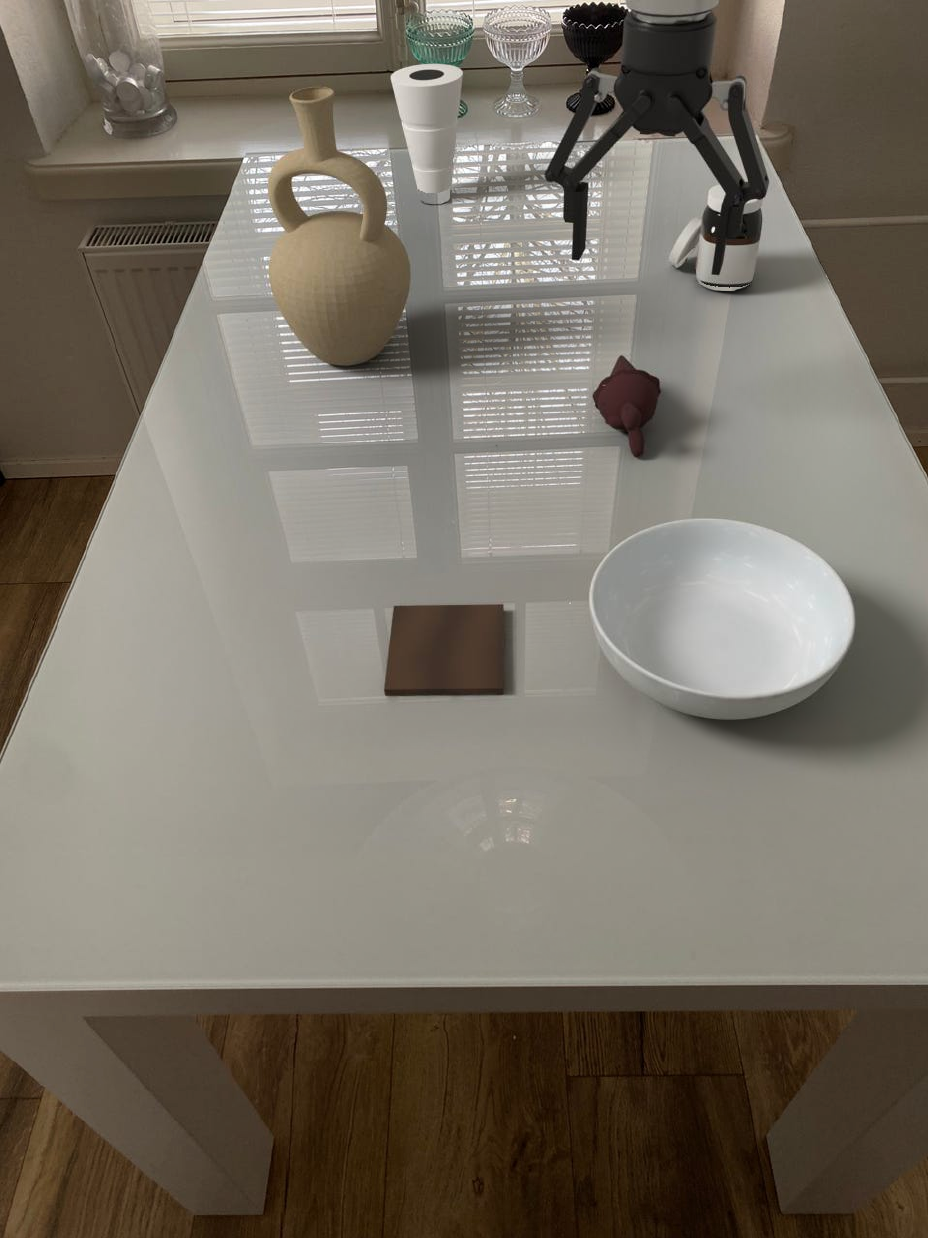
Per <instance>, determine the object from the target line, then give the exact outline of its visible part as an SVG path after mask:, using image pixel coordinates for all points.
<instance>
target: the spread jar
mask: <svg viewBox="0 0 928 1238" xmlns="http://www.w3.org/2000/svg"><path fill="white" fill-rule="evenodd" d="M725 194H726V193H725V192H724V190H723V188H722V187H721V185H720V184H719V183H718V184H716V185H714V186H712V187H711V188H709V190H708V195H707V202H706V203H707V205H706V206H705V208H704V209H703V213H702V217H701V218H700V217H698V216H695V217H693V218H692V219H691V220H690V221H689V222H688V224H686V226H685V228H683V230H682V232H681V233H680V235H679V236H678V238H677V240H676V241H675V244H674V246H673V247H672V249H671V251H670V254H669V257H668V261H670V262H672V263H675V264H678V263H679V262H680V261H681V260H682V259H683V258H684V257H685V256H686V255H687V254H688V253H689V252H690V251H691V250H692V249H693V248H694V247H695V246H696V247H697V252H696V259H695V269H696V273H697V277H698V279H699V280H700V281H701V282H702V283H704V284H706V285H710V286H715V287H716V286H718V287H729V288H730V287H743V286H746V285H748V284H750V283H751V284H752V282H753V279H754V276H755V275H754V274H755V270H756V266H757V259H758V253H759V248H760V241H761V236H762V228H763V212H762V208H761V207H762V206H763V202H764V198H763V199H761V200H757V199H753V200H750V201H748V202H746V204H745V206H744V212H743V218H742V224H741V229H740V232H739V234H738V236H737V238H727V241H726V248H725V254H724V260H723V265H722V268H721V271H720V275H711V273H712V266H713V259H714V253H715V246H716V239H717V232H718V226H719V219H720V212H721V206H722V203H723V200H724V197H725ZM696 247H695V248H696ZM668 261H667V262H668ZM751 281H752V282H751ZM751 284H750V285H751Z"/></svg>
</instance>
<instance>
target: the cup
mask: <svg viewBox="0 0 928 1238" xmlns="http://www.w3.org/2000/svg"><path fill="white" fill-rule="evenodd" d="M463 76H464V72H463V70H462V69H461V68H460V67H458V66H454V65H450V64H445V63H422V64H415V65H410V66H405V67H402V68H400V69H398V70H396V71H394V72H393V73H391V75H390V82H391V85H392V90H393V94H394V98H395V101H396V106H397V111H398V114H399V118H400V120H401V127H402V130H403V134H404V138H405V142H406V146H407V150H408V154H409V158H410V161H411V166H412V171H413V175H414V180H415V183H416V187H417V190H418V189H419V190H420V191H423V192H425V193H440V192H443V191H445V190H448V189H449V188H450V187H451V188H452V186H451V185H452V184H453V173H454V164H455V163H454V159H455V153H456V143H457V136H458V135H457V134H458V133H457V132H458V125H459V114H460V105H461V96H462V86H463Z"/></svg>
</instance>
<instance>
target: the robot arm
mask: <svg viewBox="0 0 928 1238" xmlns="http://www.w3.org/2000/svg"><path fill="white" fill-rule="evenodd" d="M624 3H625V6H626V7H627V8H628V9H629V10H630V11H629V12H628V13H627V14H626V16H625V17H624V19H623V31H622V43H621V44H622V46H621V47H622V48H621V61H620V70H619V73H618V76H616V75H613V74H612V75H611V74H606V73H603V72H602V70H601V69H600V68H598V67H594V68H592V69H591V70H590V71H589V72H588V73H587V75H586V77H585V78H584V79H583V82H582V88H581V95H580V102H579V103H578V107H577V108H576V110H575V112H574V114H573V116H572V118H571V120H570V122H569V125H568V126H567V129H566V130H565V133H564V134H563V136H562V138H561V140H560V142H559V144H558V146H557V147H556V149H555V152H554V154H553V156H552V158H551V160H550V162H549V164H548V166H547V168H546V170H545V171H544V179H545V181H546V182H548V183H555V184H558V185H559V186H560V187H561V188H562V190H563V203H562V205H563V208H562V210H563V211H562V218H563V221H564V223H568V224H572V238H571V239H572V241H571V242H572V243H571V260H572V261H579V262H580V260H581V258H582V256H583V254H584V252H585V250H586V245H587V244H586V242H587V223H588V205H589V203H588V202H589V186H590V185H589V183H590V182H589V181H583V180H584V178H585V177H587V175H588V174H589V173H590V172H591V171H592V170H593V169H594V167H595V166H597V165H598V163H599V162H600V161H601V160H602V159H603V158H604V157H605V156H606V154H607V153H608V152H609V151H610V150H611V149H612V148H613V147H614V146H615V145H616V144H617V143H618V142H619V140H621V139H622V138H623V137H624V136H625V135H626V133H628V131H629V130H630V129H631V128H633V129H634V130H635V131H637V132H639V135H646V136H650V135H654V134H659V135H662V136H665V137H673V138H675V137H676V135H679V134H682V133H683V134H684V135H685V137H686V139H687V140H688V141H689V143H690V144H691V145H693V146H694V147H695V149H696V150H697V152H698V153H699V155H700V156H701V158H702V159H703V161H704V163H705V164H706V165H707V167H708V169H709V170H710V172H711V173H712V175H713V176H714V178H715V180H716V181H717V183H718V185H719V184H720V185H721V187H722V188H723V190H724V192H725V193H726V194H725V197H724V200H723V203H722V206H721V212H720V219H719V226H718V232H717V239H716V246H715V253H714V259H713V266H712V273H711V275H720V271H721V268H722V265H723V260H724V254H725V248H726V241H727V238H737V236H738V234H739V232H740V229H741V224H742V218H743V212H744V206H745V204H746V202H748V201H750V200H753V199H757V200H761V199H763V200H764V198H766V196H767V192H768V191H769V190H768V189H769V185H770V178H769V175H768V172H767V169H766V165H765V163H764V158H763V156H762V155H763V154H762V152H761V149H760V146H759V142H758V139H757V136H756V134H755V129H754V126H753V123H752V120H751V117H750V113H749V111H748V107H747V88H748V87H747V85H748V83H747V82H748V81H747V79H746V77H745V76H744V75H741V74H740V75H736V76H735V77H734V78H733V79H732V80H721V81H720V80H719V81H718V80H717V81H714V80H713V77H712V71H711V69H712V68H711V67H712V59H713V52H714V44H715V36H716V29H717V17H716V16H715V13H714V12H713V10H714V9H715V8H716V7H718V5H719V3H720V0H624ZM609 93H613V94H614V96H615V97H614V98H616V100H617V102H618V105H620V108H621V109H622V111H621V112H620V113H619V115H618V116H617V118H616V119H614V121H613V122H612V123H611V125H610V126H608V128H607V129H606V130H605V131H603V133H602V134H601V135H600V136H599V138H598V139H597V140H596V141H595V142H594V143H593V145H591V147H590V148H589V149H588V150H587V151H586V152H585V153H584V155H583V156H581V158H580V159H579V160H578V161H577V162H576V163H575V165H573V166H571V167H569V166H567V165H566V164H567V162H568V160H569V159H570V156H571V154H572V152H573V150H574V149H575V146H576V144H577V142H578V141H579V139H580V137H581V135H582V133H583V131H584V130H585V127H586V125H587V123H588V121H589V120H590V118H591V116H592V114H593V112H594V110H595V108H596V106H597V103H599V104H600V103H602V102H603V101H604V100H605V99H606V97H607V95H608V94H609ZM711 99H716V100H717V101H718V104H719V108H720V109H721V110H722V111H727V118H728V122H729V126H730V129H731V132H732V135H733V139H734V141H735V145H736V148H737V151H738V154H739V158H740V160H741V163H742V166H743V169H744V172H745V173H744V174H745V176H746V178H747V179H746V180H747V181H745V179H744V178H743V175H742V174H741V173H740V171H739V170H738V168H737V166H736V165H735V163H734V162H733V160H732V159H731V157H730V156H729V153H727V150H726V149H725V147H723V144H722V143H721V142H720V139H719V138H718V137H717V135H716V134H715V132H714V131H713V129H712V127H711V125H710V121H709V120H708V118H707V117H706V114H705V113H704V112H703V109H704V108H705V107H707V105H708V104H709V102H710V101H711Z"/></svg>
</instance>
